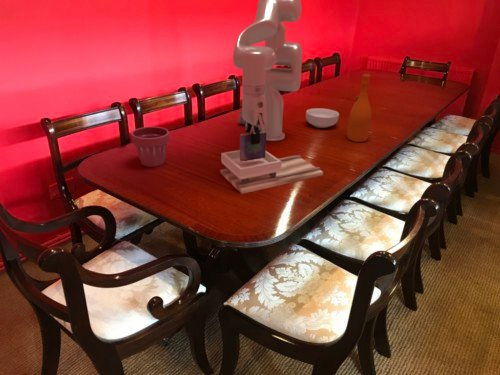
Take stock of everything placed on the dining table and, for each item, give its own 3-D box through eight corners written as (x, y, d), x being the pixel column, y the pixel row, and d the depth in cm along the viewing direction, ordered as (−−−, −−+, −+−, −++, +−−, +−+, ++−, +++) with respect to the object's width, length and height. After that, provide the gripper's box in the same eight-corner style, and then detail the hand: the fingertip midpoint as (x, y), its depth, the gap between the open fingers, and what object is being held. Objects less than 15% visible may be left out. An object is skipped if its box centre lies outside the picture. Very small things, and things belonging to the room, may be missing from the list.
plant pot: (178, 160, 156) (176, 130, 150) (154, 172, 145) (151, 140, 139) (152, 153, 162) (149, 124, 156) (127, 164, 151) (122, 133, 146)
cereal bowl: (337, 132, 190) (339, 118, 186) (303, 129, 193) (304, 115, 189) (337, 122, 205) (339, 108, 201) (306, 119, 207) (307, 106, 204)
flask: (241, 161, 135) (241, 130, 129) (237, 158, 137) (237, 127, 132) (266, 158, 138) (267, 127, 133) (263, 155, 141) (264, 124, 136)
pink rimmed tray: (221, 168, 143) (221, 153, 140) (259, 161, 149) (259, 146, 147) (240, 185, 130) (240, 169, 127) (280, 177, 137) (281, 161, 134)
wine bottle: (364, 135, 185) (374, 71, 172) (370, 142, 177) (381, 76, 163) (344, 135, 185) (352, 71, 171) (349, 142, 176) (358, 76, 163)
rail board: (220, 173, 145) (220, 168, 144) (296, 158, 159) (296, 153, 158) (241, 193, 131) (241, 187, 130) (322, 175, 145) (323, 169, 144)
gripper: (276, 93, 122) (273, 148, 130) (252, 83, 134) (251, 133, 143) (255, 96, 118) (254, 151, 127) (232, 85, 131) (233, 136, 140)
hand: (252, 141), depth 135 cm, fingers closed on flask, 3 cm apart
